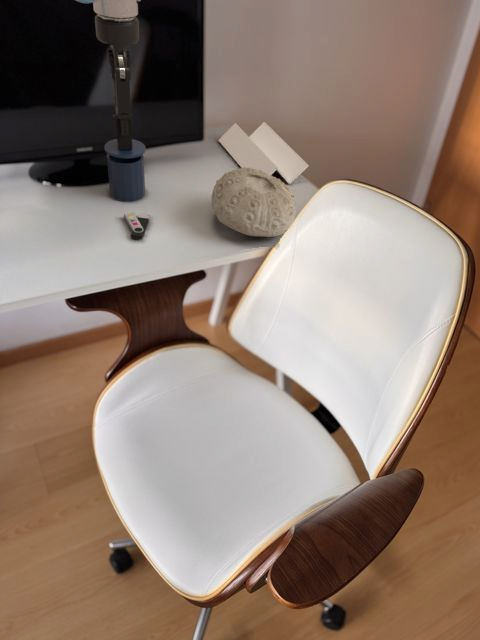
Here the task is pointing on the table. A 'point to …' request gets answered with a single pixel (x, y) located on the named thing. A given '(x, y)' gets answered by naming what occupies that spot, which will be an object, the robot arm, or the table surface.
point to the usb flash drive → (137, 224)
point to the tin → (126, 178)
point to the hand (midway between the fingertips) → (124, 145)
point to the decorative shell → (253, 203)
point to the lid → (114, 151)
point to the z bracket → (263, 152)
